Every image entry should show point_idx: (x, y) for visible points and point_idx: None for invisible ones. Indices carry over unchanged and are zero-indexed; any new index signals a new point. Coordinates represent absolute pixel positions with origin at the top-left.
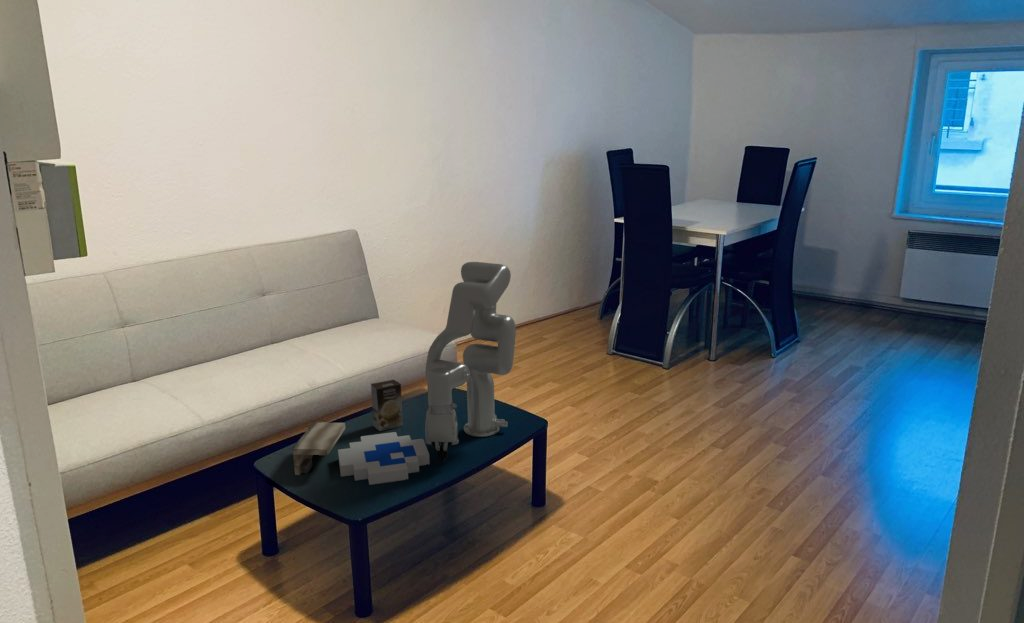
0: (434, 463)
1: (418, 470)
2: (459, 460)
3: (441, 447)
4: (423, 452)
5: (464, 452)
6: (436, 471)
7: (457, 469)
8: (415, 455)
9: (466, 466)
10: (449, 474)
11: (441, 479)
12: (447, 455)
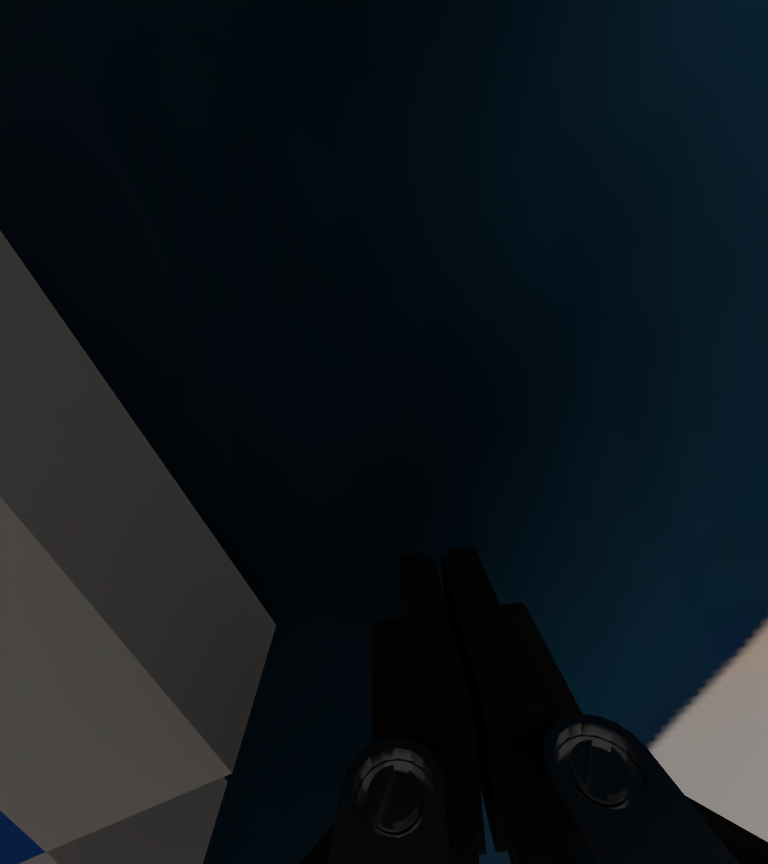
0: (328, 596)
1: (216, 801)
2: (639, 466)
3: (472, 817)
4: (100, 744)
5: (695, 188)
6: None
7: (638, 675)
8: (21, 852)
9: (739, 597)
10: None
11: (504, 858)
12: (526, 611)
